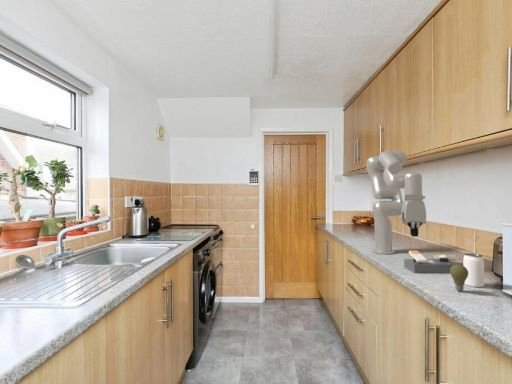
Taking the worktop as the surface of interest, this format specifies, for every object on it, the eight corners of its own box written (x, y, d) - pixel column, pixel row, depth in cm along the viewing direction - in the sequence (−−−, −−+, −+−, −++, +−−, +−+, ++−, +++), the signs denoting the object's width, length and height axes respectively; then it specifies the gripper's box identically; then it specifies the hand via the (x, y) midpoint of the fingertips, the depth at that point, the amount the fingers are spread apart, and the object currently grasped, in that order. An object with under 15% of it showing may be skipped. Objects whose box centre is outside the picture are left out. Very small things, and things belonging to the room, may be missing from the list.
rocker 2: (434, 257, 135) (434, 255, 136) (443, 257, 135) (442, 255, 136) (445, 257, 127) (444, 254, 127) (454, 257, 126) (453, 254, 127)
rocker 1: (408, 253, 137) (409, 250, 136) (417, 253, 136) (417, 250, 136) (417, 262, 128) (418, 259, 127) (426, 262, 128) (427, 259, 127)
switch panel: (404, 267, 137) (404, 256, 137) (454, 267, 136) (454, 255, 136) (414, 273, 127) (414, 261, 127) (469, 273, 126) (469, 261, 126)
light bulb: (446, 288, 106) (446, 262, 106) (460, 288, 107) (459, 262, 107) (458, 294, 101) (457, 266, 101) (472, 293, 101) (472, 266, 101)
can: (461, 284, 111) (461, 254, 111) (466, 281, 115) (465, 252, 115) (482, 289, 106) (481, 257, 106) (486, 285, 110) (485, 254, 110)
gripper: (425, 198, 138) (426, 235, 138) (394, 198, 139) (395, 235, 139) (433, 198, 131) (434, 237, 130) (401, 198, 132) (402, 237, 131)
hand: (414, 236), depth 135 cm, fingers closed
